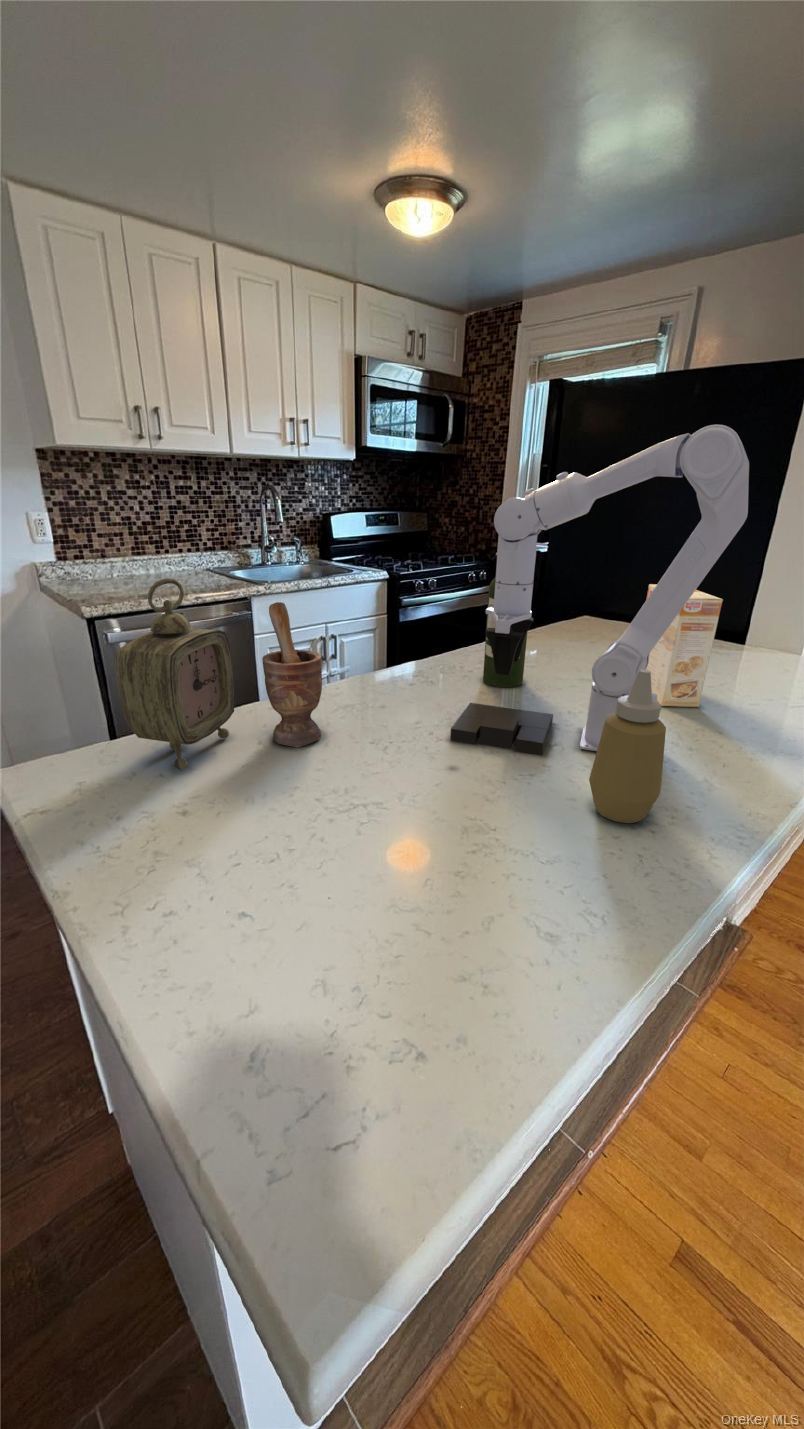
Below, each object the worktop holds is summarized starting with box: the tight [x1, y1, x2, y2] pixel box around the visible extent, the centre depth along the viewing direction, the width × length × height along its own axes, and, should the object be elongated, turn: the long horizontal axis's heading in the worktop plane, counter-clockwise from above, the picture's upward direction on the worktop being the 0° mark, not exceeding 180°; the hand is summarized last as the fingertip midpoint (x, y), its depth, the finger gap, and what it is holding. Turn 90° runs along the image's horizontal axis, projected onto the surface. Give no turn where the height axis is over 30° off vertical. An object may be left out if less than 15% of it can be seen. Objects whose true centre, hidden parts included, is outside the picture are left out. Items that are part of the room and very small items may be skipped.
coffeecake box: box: [645, 583, 724, 708], centre depth 105 cm, size 15×7×20 cm, turn 179°
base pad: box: [449, 702, 554, 756], centre depth 90 cm, size 14×12×2 cm
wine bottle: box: [482, 576, 528, 689], centre depth 108 cm, size 8×8×30 cm
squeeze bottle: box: [588, 670, 667, 824], centre depth 66 cm, size 8×8×18 cm
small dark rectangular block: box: [478, 716, 518, 750], centre depth 87 cm, size 5×4×3 cm
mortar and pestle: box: [261, 601, 323, 749], centre depth 86 cm, size 12×9×20 cm
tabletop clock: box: [114, 578, 236, 771], centre depth 79 cm, size 14×9×25 cm, turn 164°
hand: (507, 667), depth 92 cm, fingers open, 7 cm apart
